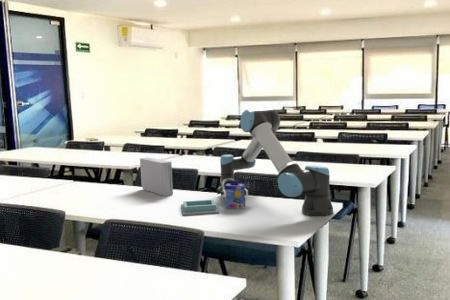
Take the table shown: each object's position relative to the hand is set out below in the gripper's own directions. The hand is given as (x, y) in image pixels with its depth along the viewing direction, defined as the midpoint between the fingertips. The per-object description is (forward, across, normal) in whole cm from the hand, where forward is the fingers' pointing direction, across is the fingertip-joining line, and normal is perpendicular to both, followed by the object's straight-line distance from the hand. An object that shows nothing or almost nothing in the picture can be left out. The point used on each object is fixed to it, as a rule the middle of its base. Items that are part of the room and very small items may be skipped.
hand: (236, 194), depth 254 cm
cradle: (-4, +19, -8) cm, 21 cm away
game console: (-53, +41, -8) cm, 68 cm away
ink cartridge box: (-4, 0, -8) cm, 9 cm away
